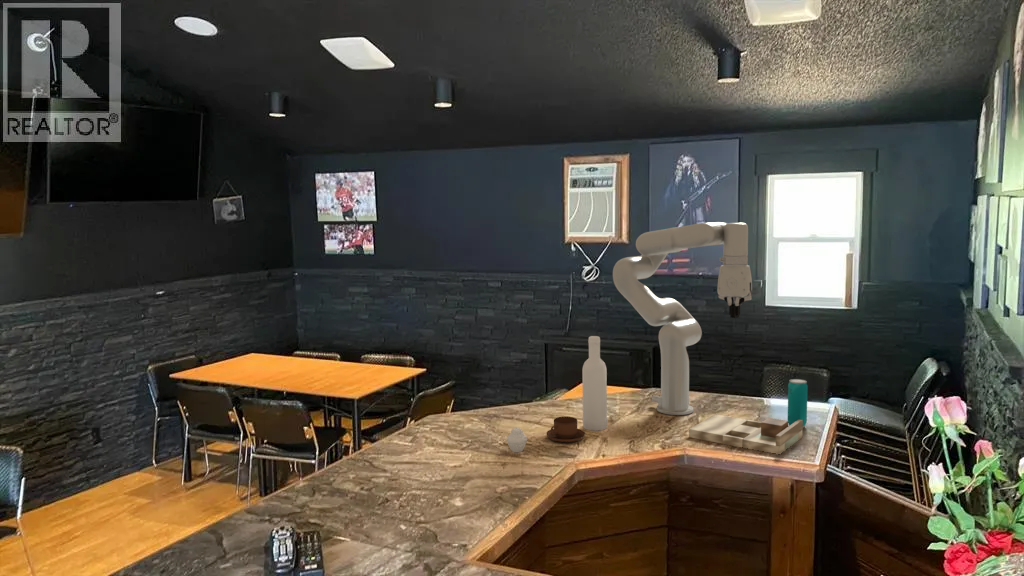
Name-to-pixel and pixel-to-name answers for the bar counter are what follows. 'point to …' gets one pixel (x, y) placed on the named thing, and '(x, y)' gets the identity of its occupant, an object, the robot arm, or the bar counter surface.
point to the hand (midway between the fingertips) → (734, 317)
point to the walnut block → (773, 427)
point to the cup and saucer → (565, 430)
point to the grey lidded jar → (516, 440)
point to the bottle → (594, 388)
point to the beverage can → (797, 401)
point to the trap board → (745, 433)
